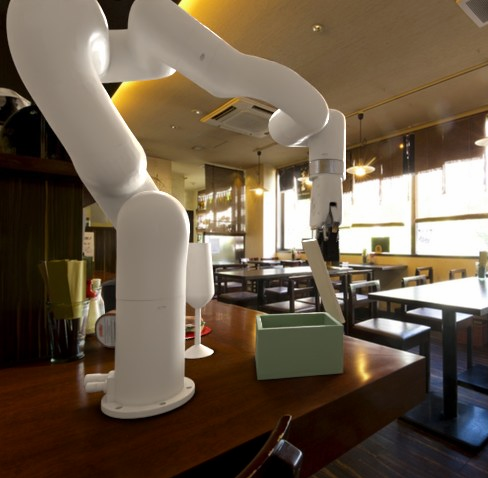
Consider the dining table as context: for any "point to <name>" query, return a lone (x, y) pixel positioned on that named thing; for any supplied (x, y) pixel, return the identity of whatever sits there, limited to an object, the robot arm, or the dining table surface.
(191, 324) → the hamburger
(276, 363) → the chest
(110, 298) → the drinking cup
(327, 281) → the lid
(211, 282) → the champagne flute
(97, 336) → the tin
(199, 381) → the dining table surface
